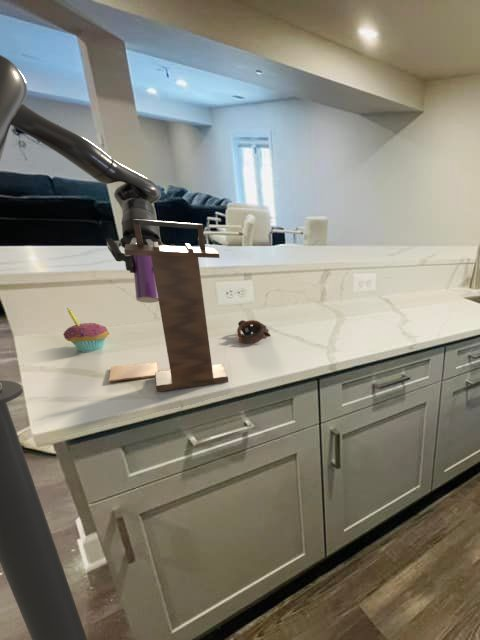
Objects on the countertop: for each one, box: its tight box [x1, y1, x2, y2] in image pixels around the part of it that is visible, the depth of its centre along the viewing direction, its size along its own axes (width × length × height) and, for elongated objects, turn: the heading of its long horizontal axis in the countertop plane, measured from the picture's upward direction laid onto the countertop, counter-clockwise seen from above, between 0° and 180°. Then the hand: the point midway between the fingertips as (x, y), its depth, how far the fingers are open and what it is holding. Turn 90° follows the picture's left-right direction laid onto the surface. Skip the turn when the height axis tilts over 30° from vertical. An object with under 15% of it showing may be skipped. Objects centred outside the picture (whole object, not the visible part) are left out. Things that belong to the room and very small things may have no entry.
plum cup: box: [132, 255, 159, 304], centre depth 95 cm, size 12×4×4 cm
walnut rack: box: [123, 219, 229, 392], centre depth 90 cm, size 16×9×38 cm, turn 129°
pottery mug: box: [236, 319, 271, 345], centre depth 123 cm, size 12×10×8 cm
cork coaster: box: [108, 361, 159, 383], centre depth 96 cm, size 9×9×1 cm
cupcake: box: [62, 307, 110, 353], centre depth 103 cm, size 9×8×12 cm
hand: (145, 270), depth 95 cm, fingers closed on plum cup, 4 cm apart
